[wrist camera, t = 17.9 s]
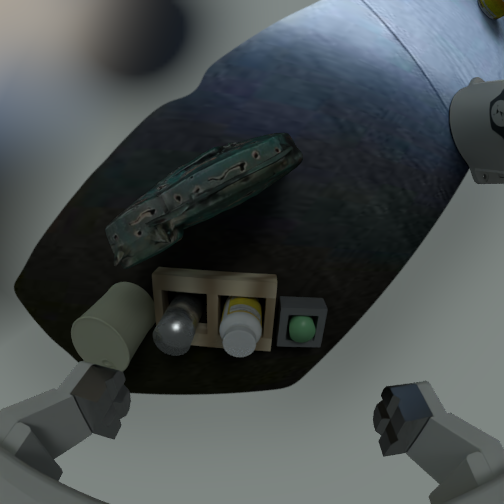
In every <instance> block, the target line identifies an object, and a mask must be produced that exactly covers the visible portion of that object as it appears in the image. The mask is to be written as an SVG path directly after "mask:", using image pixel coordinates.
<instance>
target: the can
mask: <svg viewBox="0 0 504 504" xmlns="http://www.w3.org/2000/svg"><path fill="white" fill-rule="evenodd" d="M155 321H156V317H155V307H154V302H153V300H152V298H151V297H150V295H149V294H148V293H147V292H146V291H145V290H144V289H143V288H141V287H140V286H138V285H136V284H133V283H130V282H120V283H117V284H115V285H113V286H112V287H111V288H110V289H109V290H108V292H107V293H106V294H105V295H104V296H103V297H102V298H101V299H99V300H98V301H97V302H96V303H95V304H94V305H93V306H92V307H91V308H90V309H89V310H88V311H87V312H85V313H84V314H83V315H82V316H81V317H80V318H78V319H77V320H76V321H75V322H74V324H73V326H72V329H71V337H72V341H73V344H74V347H75V349H76V350H77V352H78V354H79V355H80V356H81V357H82V358H83V360H84V361H86V362H89V363H92V364H97V365H100V366H104V367H108V368H112V369H115V370H119V371H121V372H123V371H124V370H125V369H126V368H127V367H128V365H129V362H130V360H131V359H132V357H133V355H134V354H135V352H136V350H137V348H138V347H139V345H140V344H141V342H142V340H143V339H144V337H145V336H146V334H147V333H148V331H149V330H150V329H151V328H152V326H153V325H154V323H155Z"/></svg>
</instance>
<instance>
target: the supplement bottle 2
mask: <svg viewBox="0 0 504 504" xmlns="http://www.w3.org/2000/svg"><path fill="white" fill-rule="evenodd" d="M478 3H479V6H480V8H481V9H482V11H483V12H484V13H485V14H486V15H487V16H488V17H489V18H491V19H493V20H496V19H498V18H501V17H503V16H504V0H478Z"/></svg>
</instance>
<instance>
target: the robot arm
mask: <svg viewBox="0 0 504 504" xmlns="http://www.w3.org/2000/svg"><path fill="white" fill-rule="evenodd" d="M450 126H451V131H452V135H453V138H454V141H455V144H456V146H457V148H458V150H459V152H460V154H461V155H462V157H463V158H464V160H465V161H466V162H467V164H468V165H469V167H470V170H471V173H472V176H473V179H474V181H475V182H476V183H477V184H497V183H499V184H500V183H501V184H502V183H504V80H495V81H487V82H485V81H483V80H482V79H481V78H479V77H475V78H473V79H472V80H471V82H470V84H469V85H468V86H467V87H465V88H462V89H460V90H459V91H458V92H457V93H456V94H455V96H454V98H453V100H452V103H451V107H450ZM483 176H484V177H483ZM124 382H125V377H124V374H123V372H121V371H119V370H115V369H112V368H108V367H104V366H100V365H97V364H92V363H89V362H86V361H81V362H79V363H78V364H77V365H76V367H75V368H74V369H73V370H72V371H71V373H70V374H69V375H68V376H67V378H66V379H65V380H64V382H63V383H62V384H61V385H60V386H59V388H58V389H51V390H49V391H46V392H44V393H42V394H39V395H36V396H34V397H31V398H29V399H26V400H24V401H22V402H19V403H16V404H14V405H11V406H9V407H6V408H3V409H1V411H0V504H109V503H106V502H103V501H101V500H98V499H96V498H93V497H91V496H89V495H86V494H84V493H82V492H79V491H77V490H75V489H73V488H71V487H68V486H67V485H65V484H62V483H60V482H59V479H60V477H61V475H62V473H63V472H62V469H61V468H60V466H59V465H58V464H57V463H56V462H55V460H54V459H55V458H56V457H58V456H60V455H61V454H63V453H64V452H66V451H67V450H69V449H70V448H72V447H73V446H75V445H77V444H78V443H79V442H81V441H83V440H84V439H86V438H87V437H89V436H90V435H91V434H92V433H94V434H98V435H101V436H104V437H108V438H111V439H115V437H116V435H117V433H118V431H119V429H120V427H121V422H120V419H121V418H122V417H124V416H126V415H127V413H128V411H129V407H130V402H131V400H130V393H129V390H128V389H127V388H126V387H125V385H124ZM381 397H382V399H383V400H382V401H381V402H379V403H378V404H377V405H376V408H375V410H374V416H373V423H374V428H375V431H376V432H377V433H379V434H380V435H381V437H380V439H379V444H380V447H381V450H382V454H383V456H390V455H395V454H402V453H406V454H407V455H408V456H409V457H410V458H411V459H412V460H413V461H415V462H416V463H417V464H418V465H419V466H420V467H421V468H422V469H423V470H424V471H426V472H427V473H428V474H429V475H430V476H431V477H432V478H433V479H435V480H436V481H437V482H438V483H439V484H440V485H439V486H438V487H437V488H436V489H435V490H434V491H433V492H432V493H431V494H430V495H429V499H430V502H431V504H504V449H503V447H502V445H501V443H500V441H499V440H497V439H495V438H493V437H492V436H490V435H488V434H486V433H485V432H483V431H481V430H479V429H478V428H476V427H474V426H472V425H471V424H469V423H467V422H466V421H464V420H462V419H460V418H459V417H457V416H455V415H454V414H452V413H447V412H446V411H445V409H444V407H443V406H442V404H441V402H440V400H439V398H438V397H437V395H436V393H435V391H434V390H433V388H432V386H431V385H430V383H429V382H427V381H423V382H416V383H410V384H403V385H395V386H386V387H385V388H384V389H383V392H382V394H381Z"/></svg>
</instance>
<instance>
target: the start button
mask: <svg viewBox="0 0 504 504" xmlns="http://www.w3.org/2000/svg"><path fill="white" fill-rule="evenodd" d="M288 327H289V333H290V337H291V338H292V340H294V341H295V342H299V343H304V342H307V341H309V340H311V339H312V338H313V337H314V335H315V332H316V329H315V326H314V323H313V319H312V316H305V315H290V316H289V318H288Z"/></svg>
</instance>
